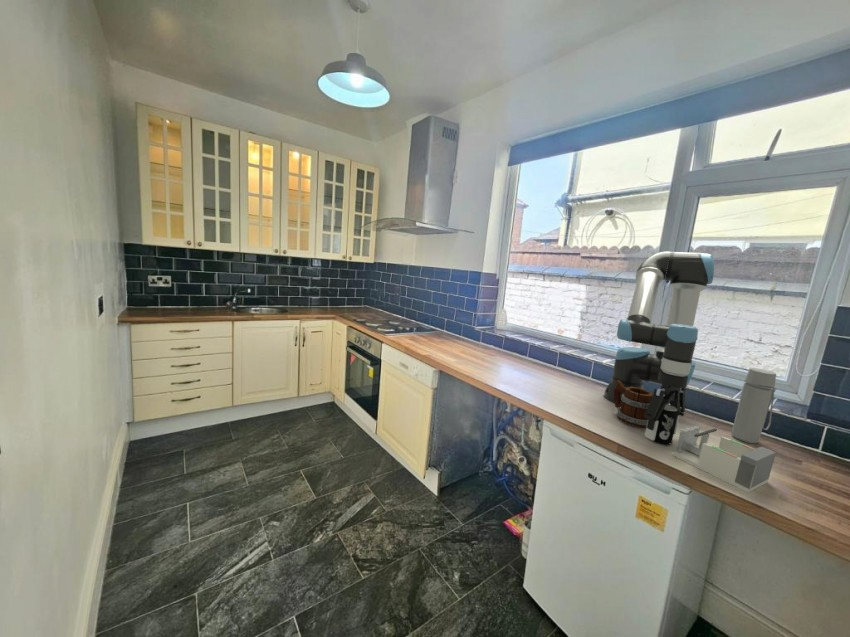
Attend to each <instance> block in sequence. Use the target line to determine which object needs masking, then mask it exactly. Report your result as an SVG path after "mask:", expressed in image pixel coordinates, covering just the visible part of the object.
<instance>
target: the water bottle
mask: <svg viewBox="0 0 850 637" xmlns="http://www.w3.org/2000/svg"><path fill="white" fill-rule="evenodd" d="M776 379H777V373H776V372H773V371H771V370H767V369H761V368H755V367H750V368H748V371H747V374H746V377H745V378H744V382H743V387H742V390H741V394H740V398H739V402H738V405H737V406H738V407H737V411H736V413H735V416H734V417H735V418H734V422H733V425H732V430H731V436H733V437H734V438H735V439H737V440H739V441H742V442H744V443H748V444H758V443H759V442H760V439H761V436H762V433H763V432H762V431H763V430H765V431H768V430H769V428H770V426H771V424H772V414H773V406H774V396H775V395H774V394H775V393H776V390H778V388H777V387H775V386H776ZM769 409H770V411H769ZM768 412H769V413H768ZM768 414H769V420H768V424H767V426H766V428H765V427H764V426H765V423H766V419H767V415H768Z"/></svg>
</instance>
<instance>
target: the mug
mask: <svg viewBox="0 0 850 637" xmlns="http://www.w3.org/2000/svg"><path fill="white" fill-rule="evenodd" d="M615 382H616V384H617V387H615V389H614V400H615V403H614V407H615V408H617V412H616V415H617V418H618V419H619V421H620V422H622V423H624V424H626V425H629V426H632V427H635V428H641V429H644V428H645V429H646V427H647V423H648V418H646V417H644V415H645V413H646V410H647V408H648V406H649V404H650V401H651V399H652V397H653V394H654V392H653V393H652V392H651V391H649V390H647V389H645V388H643V389H639V388H636V387H627V388H626V387H624V386H623V384H622V382H621V381H620V380H617V381H615ZM622 392H624V394H622V396H621V395H620V394H621V393H622ZM621 400H622V402H621Z"/></svg>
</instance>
